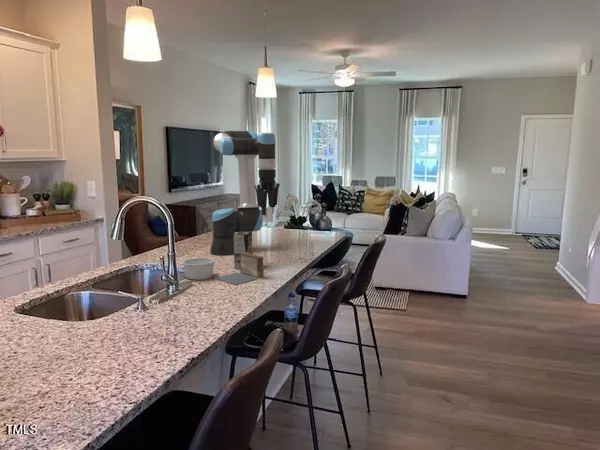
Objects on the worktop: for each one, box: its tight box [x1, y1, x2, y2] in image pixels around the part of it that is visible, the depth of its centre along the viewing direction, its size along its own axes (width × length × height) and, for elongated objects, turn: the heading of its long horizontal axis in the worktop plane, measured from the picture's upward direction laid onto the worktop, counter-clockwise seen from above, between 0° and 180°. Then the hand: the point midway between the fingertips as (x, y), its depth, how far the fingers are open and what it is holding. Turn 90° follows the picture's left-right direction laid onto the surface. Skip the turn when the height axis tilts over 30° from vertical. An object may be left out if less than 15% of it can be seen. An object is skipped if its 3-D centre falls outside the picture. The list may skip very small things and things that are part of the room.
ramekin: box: [182, 257, 215, 281], centre depth 194 cm, size 13×13×7 cm
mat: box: [214, 272, 259, 286], centre depth 190 cm, size 12×14×1 cm
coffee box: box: [233, 232, 253, 270], centre depth 210 cm, size 9×6×16 cm
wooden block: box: [239, 253, 264, 279], centre depth 196 cm, size 3×12×9 cm, turn 46°
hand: (267, 221), depth 200 cm, fingers open, 2 cm apart
